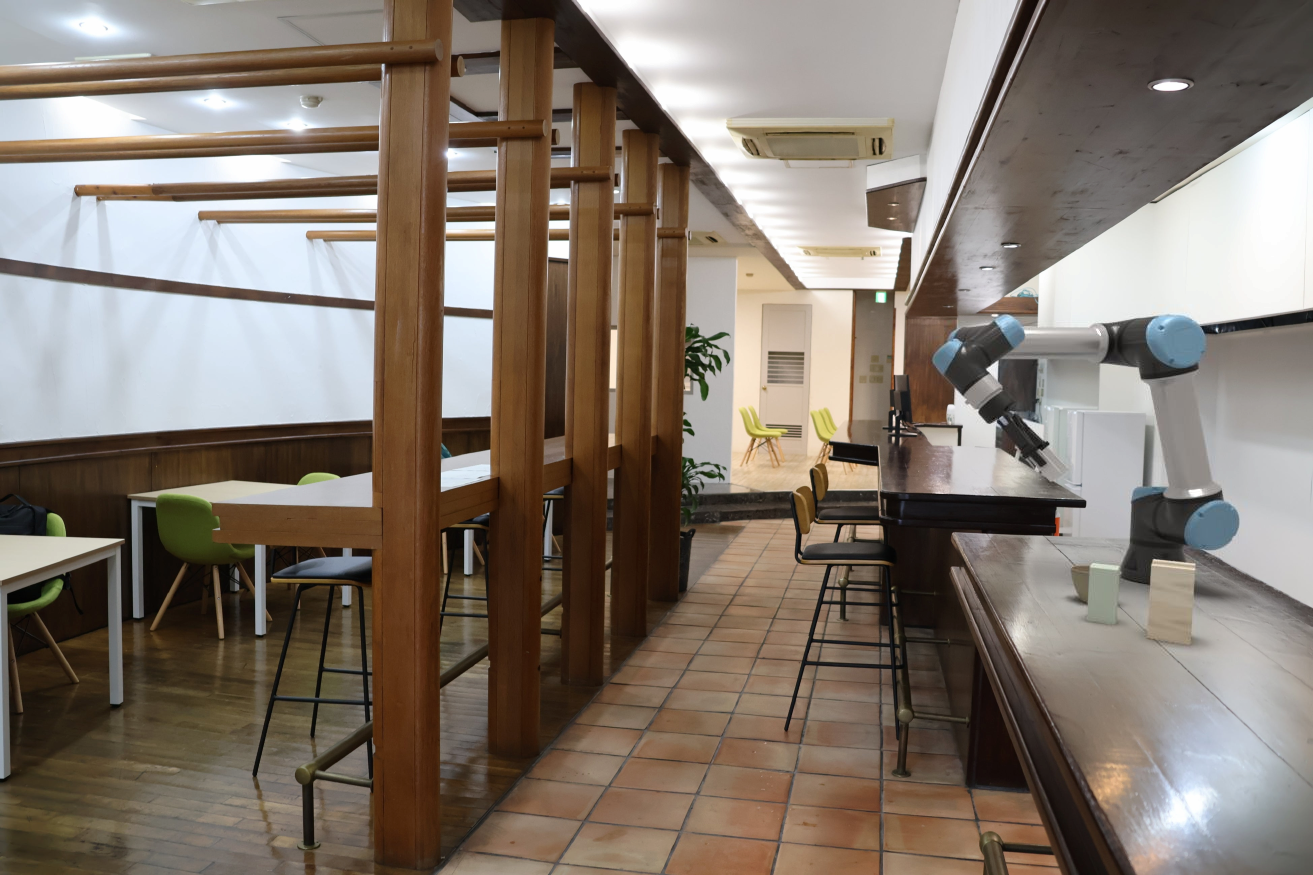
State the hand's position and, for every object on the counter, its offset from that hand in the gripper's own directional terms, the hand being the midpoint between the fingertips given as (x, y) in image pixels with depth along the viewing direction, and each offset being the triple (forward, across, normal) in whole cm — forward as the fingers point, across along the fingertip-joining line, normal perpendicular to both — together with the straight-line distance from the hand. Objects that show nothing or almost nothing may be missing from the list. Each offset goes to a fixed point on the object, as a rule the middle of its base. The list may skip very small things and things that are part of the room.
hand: (1060, 475), depth 185 cm
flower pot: (+25, -12, -15) cm, 32 cm away
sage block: (+27, +4, -13) cm, 30 cm away
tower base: (+35, +10, -4) cm, 37 cm away
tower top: (+30, +10, +1) cm, 32 cm away
